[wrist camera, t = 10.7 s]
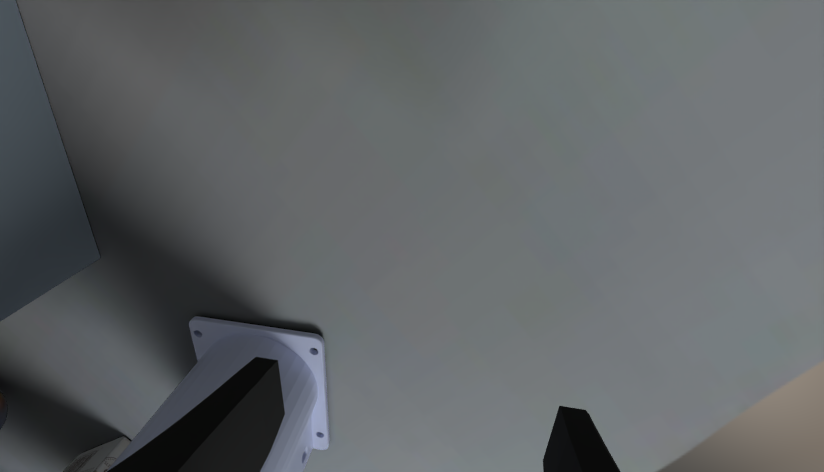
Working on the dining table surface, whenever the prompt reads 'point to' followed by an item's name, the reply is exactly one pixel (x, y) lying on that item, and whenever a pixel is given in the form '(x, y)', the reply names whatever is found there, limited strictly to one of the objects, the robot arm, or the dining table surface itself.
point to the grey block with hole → (34, 181)
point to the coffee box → (99, 457)
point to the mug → (3, 409)
